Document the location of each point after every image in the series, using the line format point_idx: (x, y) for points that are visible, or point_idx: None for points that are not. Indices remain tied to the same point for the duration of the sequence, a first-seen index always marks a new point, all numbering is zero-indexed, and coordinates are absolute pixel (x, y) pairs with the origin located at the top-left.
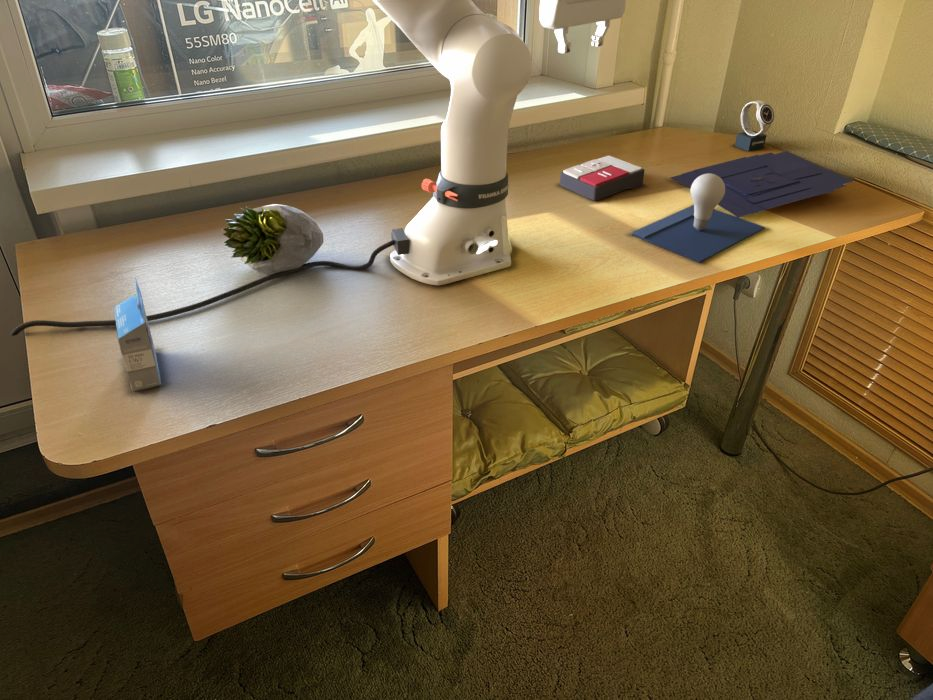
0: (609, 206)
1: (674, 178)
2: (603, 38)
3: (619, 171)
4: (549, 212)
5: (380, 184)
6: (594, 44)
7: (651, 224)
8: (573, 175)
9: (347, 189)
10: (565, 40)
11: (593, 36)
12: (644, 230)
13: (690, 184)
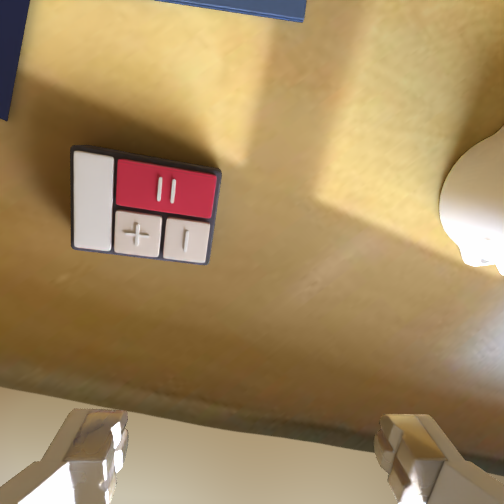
0: (220, 135)
1: (2, 109)
2: (55, 444)
3: (131, 176)
4: (313, 197)
5: None
6: (121, 437)
7: (249, 7)
8: (208, 235)
9: None
10: (486, 480)
11: (108, 496)
12: (283, 2)
13: (2, 57)
